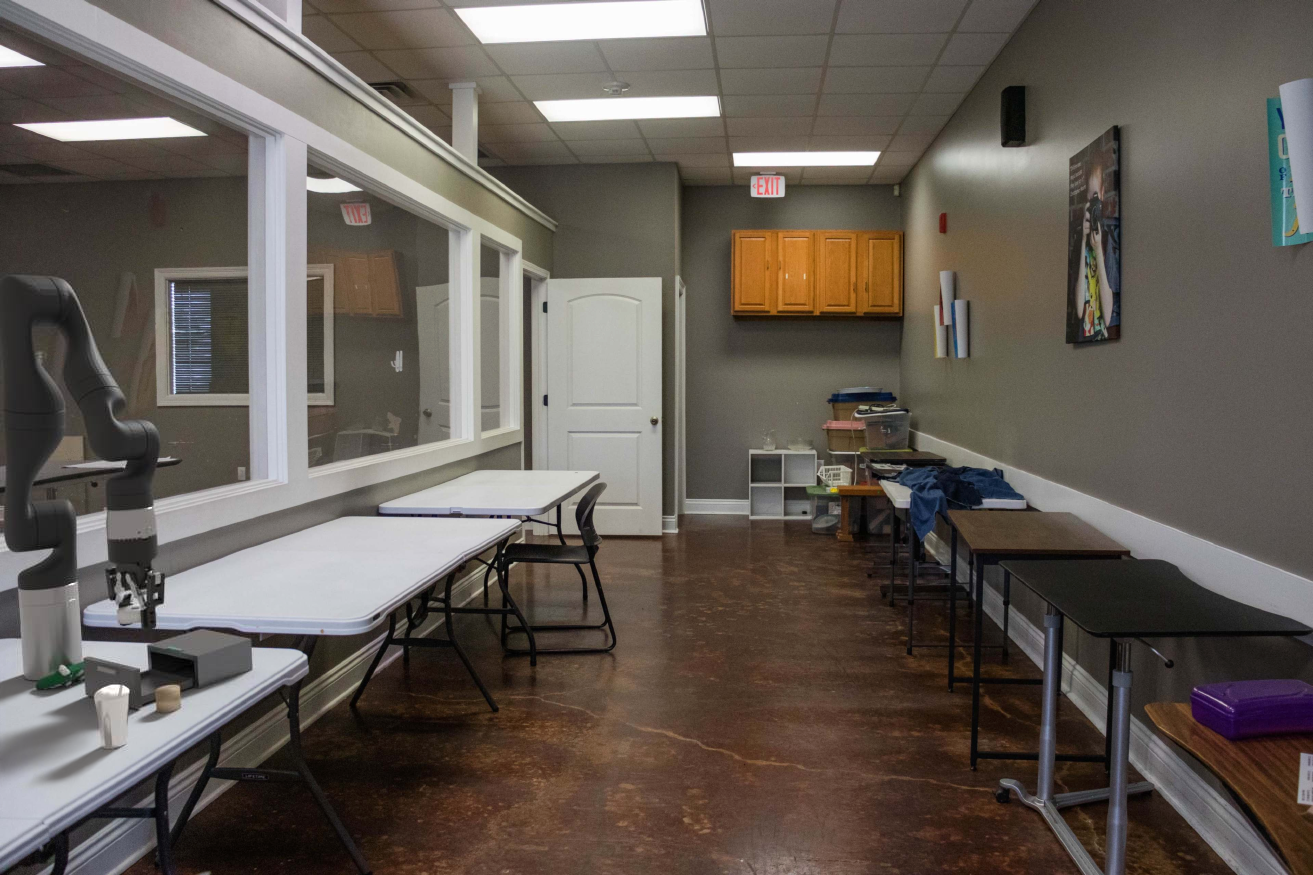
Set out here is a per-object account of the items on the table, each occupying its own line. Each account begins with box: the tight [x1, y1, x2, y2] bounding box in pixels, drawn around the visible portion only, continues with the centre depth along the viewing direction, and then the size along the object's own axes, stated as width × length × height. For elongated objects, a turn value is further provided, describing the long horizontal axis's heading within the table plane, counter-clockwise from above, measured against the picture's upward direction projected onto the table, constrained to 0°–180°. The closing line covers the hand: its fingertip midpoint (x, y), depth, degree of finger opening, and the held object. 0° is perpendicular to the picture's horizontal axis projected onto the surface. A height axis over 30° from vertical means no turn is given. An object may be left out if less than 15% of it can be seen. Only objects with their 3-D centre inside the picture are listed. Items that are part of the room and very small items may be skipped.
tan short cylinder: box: [155, 685, 182, 714], centre depth 143 cm, size 4×4×4 cm
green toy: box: [35, 654, 92, 690], centre depth 156 cm, size 9×4×6 cm
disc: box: [116, 603, 158, 625], centre depth 149 cm, size 6×6×2 cm
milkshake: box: [93, 685, 130, 750], centre depth 129 cm, size 4×5×10 cm
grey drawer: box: [83, 655, 194, 710], centre depth 150 cm, size 11×15×7 cm
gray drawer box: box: [146, 628, 253, 689], centre depth 160 cm, size 11×15×6 cm
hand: (138, 626), depth 149 cm, fingers closed on disc, 6 cm apart
